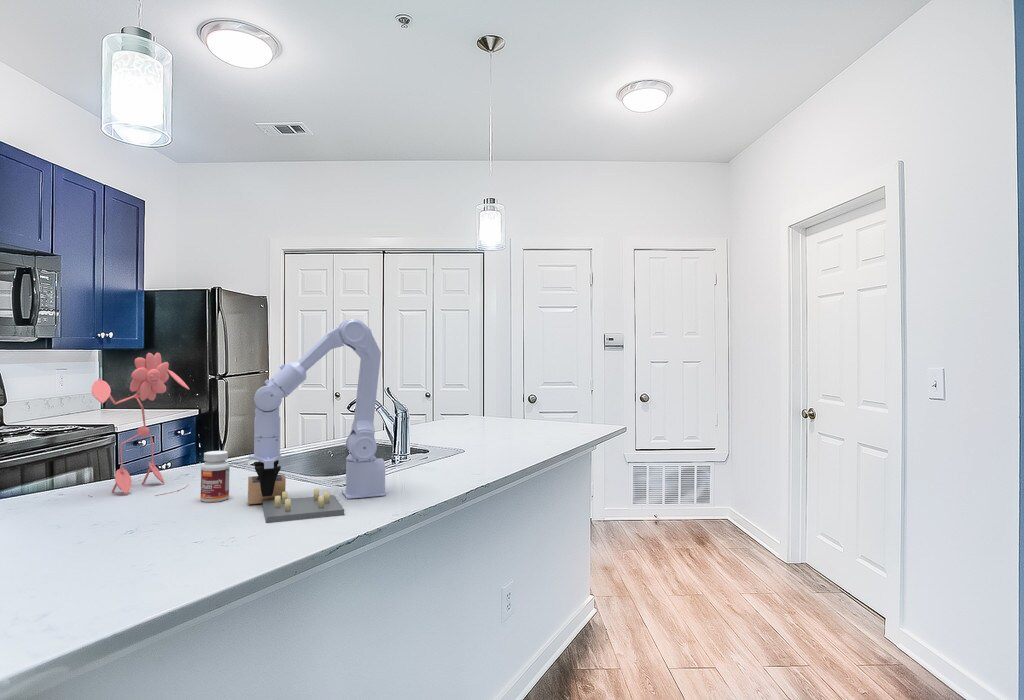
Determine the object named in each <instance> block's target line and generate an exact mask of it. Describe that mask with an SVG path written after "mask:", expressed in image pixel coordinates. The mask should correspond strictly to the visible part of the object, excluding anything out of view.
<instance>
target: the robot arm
mask: <svg viewBox="0 0 1024 700" xmlns="http://www.w3.org/2000/svg"><path fill="white" fill-rule="evenodd" d="M344 346H347V347H349V348H350V349H352V350H353V352H354V353H355V354H356V355H357V356H358V357H359V358H360V361H359V362H360V363H359V370H358V378H357V379H358V380H357V390H356V399H355V409H354V417H353V418H354V419H353V422H352V424H351V430H350V432H349V435H348V436H347V438H346V441H345V445H346V449H347V450H348V451H349V454H348V455H347V456H346V459H345V460H346V461H345V464H346V465H345V489H342V490H341V493H342V494H343V495H344V497H345V498H346V499H349V500H351V499H362V498H374V497H383V496H387V495H386V494H387V493H386V464H385V460H384V458H379V457H378V458H377V456H376V455H375V454H376V452H377V449H378V445H377V441H376V438H375V434H376V433H375V432H376V431H375V422H374V421H375V412H376V402H377V394H378V393H377V392H378V385H379V384H378V383H379V374H380V364H381V357H382V356H381V355H382V352H381V348H380V347H379V345H378V343H377V341H376V340H375V337H374V336H373V333H372V330H371V329H370V327H369V326H368V325H367V324H366V323H364V321H363V320H360V319H357V318H351V319H348V320H345V321H341V323H340V324H339V325H338V326H336V327H333V329H331V330H329V332H327V333H325V334H324V335H323V336H322V337H321V338H320V339H319V340H318V341H317V342H316V343H315V344H314V345H313V346H312V347H311V348H310V349H309V350H308V351H307V352H305V354H304V355H303V356H302V357H301V358H300V359H299V360H298V361H294V362H293V361H289V362H287V363H286V364H285V363H283V364H281V365H280V366H279V368H280V369H279V370H278V371H277V373H275V374H274V375H273V376H272V377H271V378H270V379H268V378H267V379H266V380H265V381H264V384H265V385H263V386H261V387H259V388H258V389H257V390H256V391H255V393H254V397H253V400H254V404H255V405H256V406H255V409H254V415H255V417H254V421H253V422H254V426H253V428H254V430H253V431H254V432H253V434H254V435H253V445H254V446H253V454H249V455H248V460H254V462H253V465H254V466H253V467H254V471H255V472H256V474H257V476H258V477H259V480H260V486H261V492H262V496H263V497H265V496H272V494H273V491H274V486H275V481H276V478H277V475H279V474H280V471H281V469H282V467H281V465H279V462H280V461H279V459H281V457H282V454H281V416H280V406H281V404H282V400H283V399H284V398H287V397H289V395H291V394H292V393H293V392H294V391H295V390H296V389H298V387H299V386H300V385H301V384H302V383H304V382H305V381H306V379H307V371H308V370H309V369H311V368H312V367H313V366H314V365H315V364H316V363H317V362H318V361H320V360H321V359H322V358H323V357H324V356H325V355H327V353H329V352H330V351H331V350H334V349H337V348H341V347H344Z"/></svg>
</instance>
